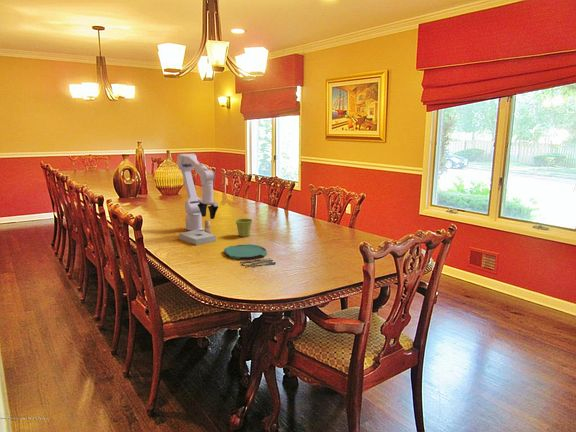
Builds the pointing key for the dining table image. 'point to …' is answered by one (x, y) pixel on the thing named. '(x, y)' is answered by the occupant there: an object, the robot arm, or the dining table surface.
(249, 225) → the plant pot
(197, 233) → the hole board
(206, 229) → the dowel
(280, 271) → the dining table surface
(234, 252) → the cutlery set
